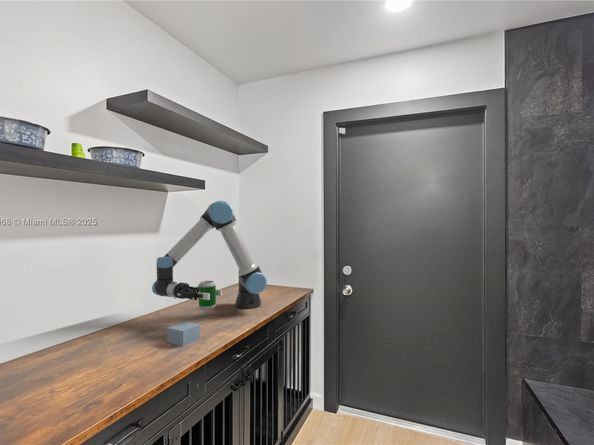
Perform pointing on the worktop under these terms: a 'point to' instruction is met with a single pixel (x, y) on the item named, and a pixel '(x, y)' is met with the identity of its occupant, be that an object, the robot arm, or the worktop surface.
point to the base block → (183, 333)
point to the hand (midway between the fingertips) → (215, 294)
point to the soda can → (211, 289)
